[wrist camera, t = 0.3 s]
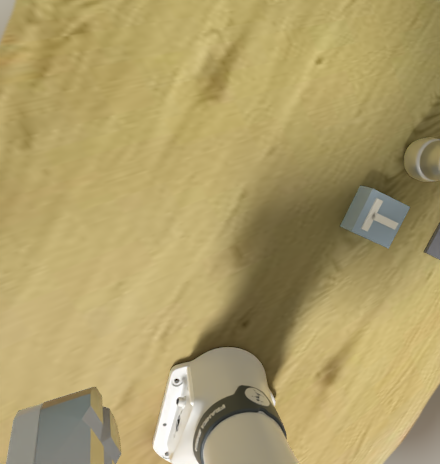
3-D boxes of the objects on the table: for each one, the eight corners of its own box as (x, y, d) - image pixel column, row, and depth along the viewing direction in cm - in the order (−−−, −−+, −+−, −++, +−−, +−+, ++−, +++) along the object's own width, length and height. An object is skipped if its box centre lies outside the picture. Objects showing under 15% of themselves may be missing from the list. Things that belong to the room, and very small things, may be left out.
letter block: (374, 241, 68) (389, 249, 64) (339, 225, 66) (352, 232, 62) (395, 202, 67) (411, 207, 63) (359, 185, 65) (374, 188, 61)
